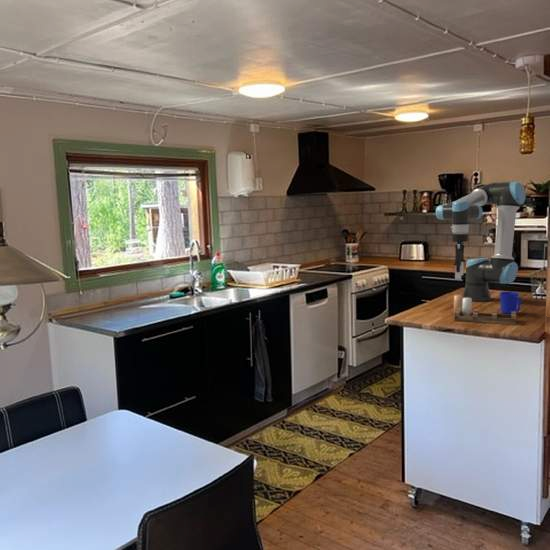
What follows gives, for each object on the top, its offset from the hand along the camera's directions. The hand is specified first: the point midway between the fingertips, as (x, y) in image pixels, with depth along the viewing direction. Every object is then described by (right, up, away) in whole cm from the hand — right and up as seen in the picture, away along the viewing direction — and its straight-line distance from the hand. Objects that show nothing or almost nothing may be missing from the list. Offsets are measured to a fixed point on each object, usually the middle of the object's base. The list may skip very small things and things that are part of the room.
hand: (459, 276), depth 264 cm
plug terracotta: (0, -18, +3) cm, 18 cm away
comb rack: (+7, -20, -13) cm, 25 cm away
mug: (+25, -18, -1) cm, 31 cm away
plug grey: (0, -19, -10) cm, 21 cm away
